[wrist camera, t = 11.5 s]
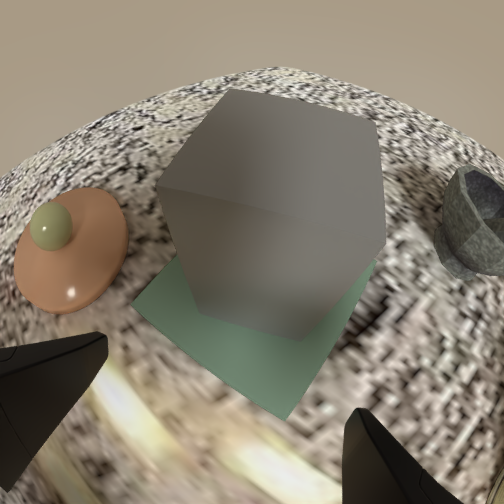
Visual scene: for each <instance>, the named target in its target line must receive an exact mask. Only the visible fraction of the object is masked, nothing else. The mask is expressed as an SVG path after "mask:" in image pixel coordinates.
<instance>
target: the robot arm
mask: <svg viewBox="0 0 504 504" xmlns="http://www.w3.org/2000/svg"><path fill="white" fill-rule="evenodd" d="M107 357H108V338H107V336H106V335H105V334H103V333H101V332H98V331H96V332H91V333H86V334H81V335H76V336H71V337H66V338H61V339H55V340H50V341H44V342H38V343H33V344H27V345H20V346H14V347H7V348H0V487H1V488H3V489H4V490H5V491H6V492H7V493H8V492H9V491H10V490H11V488H12V487H13V486H14V484H15V483H16V481H17V480H18V478H19V477H20V476H21V474H22V473H23V471H24V470H25V469H26V467H27V466H28V465H29V463H30V462H31V461H32V458H34V456H35V455H36V454H37V452H38V451H39V450H40V448H41V447H42V446H43V444H44V443H45V442H46V440H47V439H48V438H49V436H50V435H51V434H52V432H53V431H54V430H55V429H56V427H57V426H58V425H59V423H60V422H61V421H62V420H63V418H64V417H65V416H66V415H67V413H68V412H69V411H70V410H71V408H72V407H73V406H74V405H75V403H76V402H77V401H78V400H79V398H80V397H81V396H82V395H83V393H84V392H85V391H86V390H87V388H88V387H89V386H90V384H91V383H92V381H93V380H94V378H95V377H96V375H97V373H98V372H99V370H100V369H101V367H102V366H103V364H104V363H105V361H106V360H107ZM342 504H464V503H462V502H461V501H460V500H458V499H457V498H456V497H455V496H453V495H452V494H451V493H450V492H448V491H447V490H446V489H445V488H444V487H442V486H441V485H440V484H439V483H438V482H437V481H436V480H435V479H434V478H433V477H432V476H431V475H430V474H429V473H428V472H427V471H426V470H425V469H422V466H421V465H420V464H419V463H418V462H417V461H416V460H415V459H414V458H413V457H412V456H411V455H410V454H409V453H408V452H407V450H406V449H405V448H404V447H403V446H402V445H401V444H400V443H399V442H398V441H397V440H396V439H395V438H394V437H393V436H392V435H391V433H390V432H389V431H388V430H387V429H386V428H385V427H384V426H383V425H382V424H381V423H380V422H379V421H378V419H377V418H376V417H375V416H374V415H373V414H372V413H371V412H370V411H369V410H368V409H366V408H356V409H355V410H354V411H353V413H352V414H351V416H350V417H349V419H348V420H347V422H346V424H345V428H344V442H343V454H342Z"/></svg>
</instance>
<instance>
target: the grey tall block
mask: <svg viewBox="0 0 504 504" xmlns="http://www.w3.org/2000/svg"><path fill="white" fill-rule="evenodd" d="M155 186H156V190H157V193H158V196H159V200H160V203H161V206H162V209H163V213H164V216H165V219H166V222H167V225H168V228H169V231H170V234H171V237H172V240H173V243H174V246H175V249H176V252H177V255H178V257H179V260H180V263H181V266H182V269H183V271H184V274H185V277H186V279H187V282H188V285H189V287H190V290H191V293H192V295H193V298H194V300H195V303H196V306H197V308H198V311H199V313H200V314H203V315H206V316H209V317H212V318H215V319H219V320H222V321H225V322H229V323H232V324H235V325H239V326H242V327H246V328H250V329H253V330H257V331H260V332H264V333H268V334H272V335H276V336H279V337H283V338H287V339H291V340H295V341H300V342H301V341H302V340H303V338H304V337H305V336H306V335H307V334H308V333H309V332H310V331H311V330H312V329H313V328H314V327H315V326H316V325H317V324H318V323H319V322H320V321H321V320H322V319H323V317H324V316H325V315H326V314H327V313H328V312H329V311H330V310H331V309H332V308H333V307H334V305H335V304H336V303H337V302H338V301H339V300H340V299H341V298H342V296H343V295H344V294H345V293H346V292H347V291H348V290H349V288H350V287H351V286H352V285H353V284H354V283H355V281H356V280H357V279H358V278H359V277H360V275H361V274H362V273H363V272H364V271H365V269H366V268H367V267H368V266H369V265H370V263H371V262H372V261H373V260H374V258H375V257H376V256H377V255H378V253H379V252H380V251H381V249H382V248H383V247H384V246H385V244H386V220H385V201H384V187H383V176H382V166H381V157H380V149H379V142H378V135H377V129H376V123H375V122H373V121H370V120H368V119H365V118H361V117H358V116H355V115H352V114H349V113H345V112H342V111H339V110H335V109H332V108H328V107H324V106H320V105H316V104H312V103H308V102H304V101H299V100H295V99H290V98H285V97H280V96H275V95H270V94H264V93H258V92H251V91H245V90H237V89H229V90H228V91H227V92H226V93H225V95H224V96H223V97H222V98H221V99H220V100H219V101H218V103H217V104H216V105H215V106H214V107H213V109H212V110H211V111H210V112H209V113H208V115H207V116H206V117H205V118H204V119H203V121H202V122H201V123H200V124H199V126H198V127H197V128H196V129H195V131H194V132H193V133H192V135H191V136H190V137H189V139H188V140H187V141H186V142H185V144H184V145H183V146H182V148H181V149H180V150H179V152H178V153H177V155H176V156H175V157H174V159H173V160H172V161H171V163H170V164H169V166H168V167H167V168H166V170H165V171H164V173H163V174H162V176H161V177H160V179H159V180H158V182H157V183H156V185H155Z"/></svg>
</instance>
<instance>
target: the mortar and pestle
mask: <svg viewBox="0 0 504 504" xmlns="http://www.w3.org/2000/svg"><path fill="white" fill-rule="evenodd" d="M442 213H443V224H442V225H441V226H439V227H438V228H437V229H436V230H435V240H434V247H435V249H436V251H437V254H438V256H439V258H440V260H441V263H442V265H443V266H444V267H445V268H446V269H447V270H448V271H449V272H450V273H451V274H452V275H453V276H454V277H455V278H457V279H462V280H467V281H470V280H471V279H472V278H473V277H474V276H475V275H476V274H477V273H480V274H485V275H489V276H503V275H504V187H503V186H502V185H501V184H500V183H499V182H498V181H497V180H496V179H495V178H494V177H493V176H492V175H491V174H489V173H487V172H485V171H483V170H481V169H479V168H477V167H475V166H473V165H471V164H468V165H466V166H463V167H461V168H458V169H457V170H456V172H455V173H454V175H453V176H452V178H451V179H450V181H449V184H448V186H447V188H446V190H445V192H444V199H443V208H442Z"/></svg>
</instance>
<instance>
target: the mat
mask: <svg viewBox="0 0 504 504" xmlns="http://www.w3.org/2000/svg"><path fill="white" fill-rule="evenodd" d="M376 262H377V261H376V260H373V261H372V262H371V263H370V265H369V266H368V267H367V268H366V269H365V271H364V272H363V273H362V274H361V275H360V277H359V278H358V279H357V280H356V281H355V283H354V284H353V285H352V286H351V287H350V288H349V290H348V291H347V292H346V293H345V294H344V295H343V296H342V298H341V299H340V300H339V301H338V302H337V303H336V304H335V305H334V307H333V308H332V309H331V310H330V311H329V312H328V313H327V314H326V315H325V316H324V317H323V319H322V320H321V321H320V322H319V323H318V324H317V325H316V326H315V327H314V328H313V329H312V330H311V331H310V332H309V333H308V334H307V335H306V336H305V337H304V338H303V340H302V341H301V342H300V341H295V340H291V339H287V338H283V337H279V336H276V335H272V334H268V333H264V332H260V331H257V330H253V329H250V328H246V327H242V326H239V325H235V324H232V323H229V322H225V321H222V320H219V319H215V318H212V317H209V316H206V315H203V314H200V313H199V311H198V308H197V306H196V303H195V300H194V298H193V295H192V293H191V290H190V287H189V285H188V282H187V279H186V277H185V274H184V271H183V269H182V266H181V263H180V260H179V257H178V255H176V256H175V257H174V258H173V259H172V260H171V261H170V262H169V263H168V264H167V265H166V266H165V267H164V268H163V270H162V271H161V272H160V273H159V274H158V275H157V276H156V277H155V278H154V279H153V280H152V281H151V282H150V284H149V285H148V286H147V287H146V288H145V289H144V290H143V291H142V292H141V293H140V294H139V296H138V297H137V298H136V299H135V300H134V301H133V302H132V303H131V304H130V305H131V306H132V307H133V308H134V309H136V310H137V311H138V312H139V313H140V314H141V315H142V316H143V317H144V318H145V319H146V320H148V321H149V322H150V323H151V324H152V325H153V326H154V327H155V328H157V329H158V330H159V331H160V332H161V333H162V334H163V335H165V336H166V337H167V338H168V339H169V340H171V341H172V342H173V343H174V344H175V345H177V346H178V347H179V348H180V349H182V350H183V351H184V352H185V353H186V354H188V355H189V356H190V357H192V358H193V359H194V360H195V361H197V362H198V363H199V364H201V365H202V366H203V367H204V368H206V369H207V370H208V371H210V372H211V373H212V374H214V375H215V376H217V377H218V378H219V379H221V380H222V381H223V382H225V383H226V384H228V385H229V386H231V387H232V388H233V389H235V390H236V391H238V392H239V393H241V394H242V395H244V396H245V397H247V398H248V399H250V400H251V401H253V402H254V403H256V404H257V405H259V406H260V407H262V408H264V409H265V410H267V411H268V412H270V413H272V414H273V415H275V416H276V417H278V418H280V419H281V420H283V421H285V420H286V419H287V418H288V416H289V415H290V413H291V412H292V411H293V409H294V408H295V406H296V405H297V403H298V402H299V401H300V399H301V398H302V396H303V395H304V393H305V392H306V390H307V389H308V387H309V386H310V384H311V382H312V381H313V379H314V378H315V376H316V375H317V373H318V371H319V370H320V368H321V367H322V365H323V363H324V362H325V360H326V358H327V357H328V355H329V353H330V352H331V350H332V348H333V346H334V345H335V343H336V341H337V339H338V338H339V336H340V334H341V332H342V331H343V329H344V327H345V325H346V323H347V321H348V319H349V318H350V316H351V314H352V312H353V310H354V308H355V306H356V304H357V302H358V300H359V298H360V296H361V294H362V292H363V290H364V288H365V286H366V284H367V282H368V280H369V278H370V275H371V273H372V271H373V269H374V267H375V265H376Z"/></svg>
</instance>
